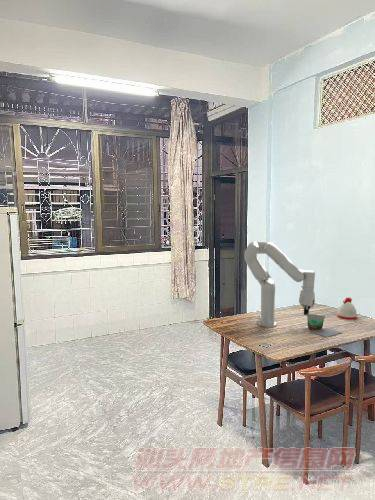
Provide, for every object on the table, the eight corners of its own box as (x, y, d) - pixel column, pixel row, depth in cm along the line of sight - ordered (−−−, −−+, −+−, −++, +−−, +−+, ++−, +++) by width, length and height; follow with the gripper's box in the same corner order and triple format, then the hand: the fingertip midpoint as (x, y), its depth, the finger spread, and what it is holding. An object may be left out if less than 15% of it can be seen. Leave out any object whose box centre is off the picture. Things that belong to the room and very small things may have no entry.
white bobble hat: (361, 318, 274) (361, 298, 273) (347, 320, 269) (347, 300, 267) (346, 313, 287) (347, 294, 285) (332, 315, 282) (333, 296, 280)
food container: (305, 329, 247) (306, 315, 246) (305, 326, 253) (306, 312, 252) (324, 331, 244) (326, 317, 242) (324, 328, 250) (325, 314, 248)
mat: (310, 332, 242) (310, 331, 242) (326, 328, 251) (326, 327, 251) (326, 337, 232) (326, 336, 232) (341, 332, 241) (341, 332, 241)
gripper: (295, 286, 255) (293, 312, 257) (313, 291, 243) (311, 318, 245) (302, 286, 260) (300, 311, 262) (320, 290, 248) (318, 316, 250)
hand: (306, 314), depth 253 cm, fingers closed
